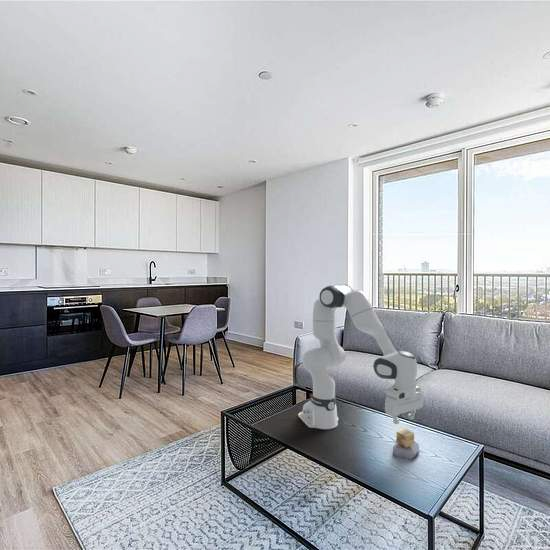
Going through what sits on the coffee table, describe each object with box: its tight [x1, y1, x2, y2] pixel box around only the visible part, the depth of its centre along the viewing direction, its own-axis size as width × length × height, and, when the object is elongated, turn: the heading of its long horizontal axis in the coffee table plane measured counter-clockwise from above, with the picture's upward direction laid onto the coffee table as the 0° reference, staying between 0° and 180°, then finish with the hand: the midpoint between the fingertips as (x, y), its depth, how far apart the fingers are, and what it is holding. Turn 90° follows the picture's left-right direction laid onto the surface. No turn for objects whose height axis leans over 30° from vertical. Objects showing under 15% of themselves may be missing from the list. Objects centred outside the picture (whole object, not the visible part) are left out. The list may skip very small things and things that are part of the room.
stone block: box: [392, 438, 420, 460], centre depth 150 cm, size 12×5×10 cm
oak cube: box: [396, 427, 415, 448], centre depth 150 cm, size 5×5×5 cm
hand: (403, 421), depth 151 cm, fingers open, 8 cm apart
